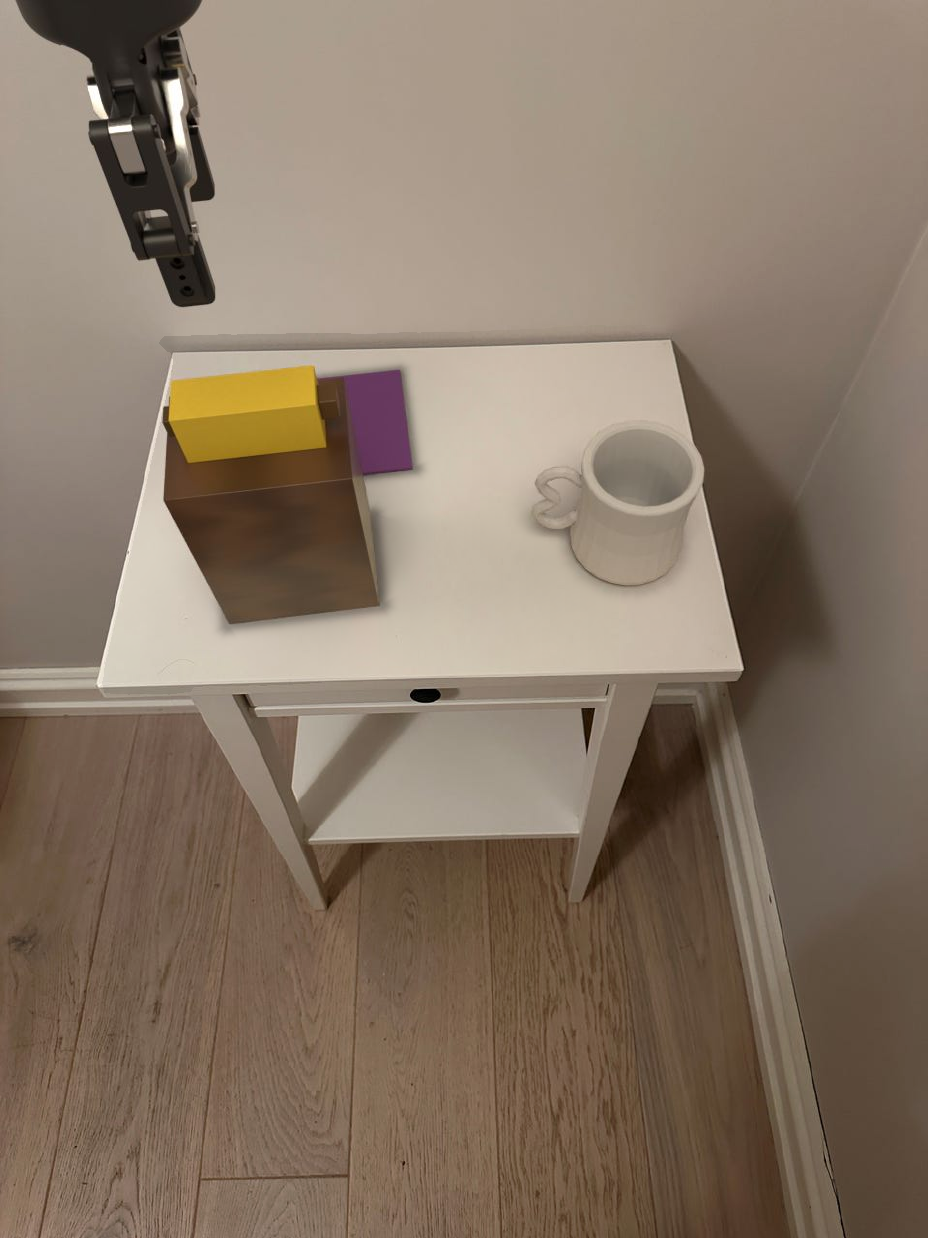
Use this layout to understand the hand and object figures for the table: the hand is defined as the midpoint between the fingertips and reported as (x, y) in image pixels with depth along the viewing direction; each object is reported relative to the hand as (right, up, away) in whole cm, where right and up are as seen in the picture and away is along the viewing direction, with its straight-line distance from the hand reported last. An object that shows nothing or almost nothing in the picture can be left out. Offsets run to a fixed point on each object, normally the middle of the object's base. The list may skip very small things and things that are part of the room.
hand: (196, 247), depth 46 cm
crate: (+1, -16, +25) cm, 29 cm away
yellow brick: (+1, -8, +11) cm, 13 cm away
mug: (+26, -14, +25) cm, 39 cm away
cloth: (+2, -2, +32) cm, 32 cm away
